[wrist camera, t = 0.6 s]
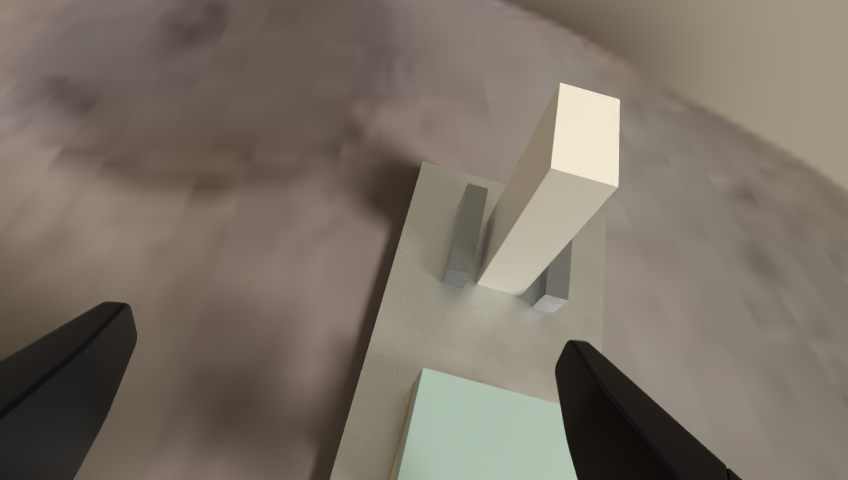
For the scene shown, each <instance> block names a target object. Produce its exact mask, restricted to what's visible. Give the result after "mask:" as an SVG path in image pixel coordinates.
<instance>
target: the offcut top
mask: <svg viewBox="0 0 848 480" xmlns="http://www.w3.org/2000/svg"><path fill="white" fill-rule="evenodd" d="M393 480H577V476H576V473H575V469H574V466H573V462H572V459H571V455H570V452H569V448H568V444H567V440H566V435H565V430H564V425H563V419H562V413H561V407H560V404H557V403H553V402H550V401H546V400H542V399H538V398H535V397H531V396H527V395H524V394H520V393H516V392H512V391H509V390H505V389H501V388H498V387H494V386H490V385H486V384H483V383H479V382H475V381H472V380H468V379H464V378H460V377H457V376H453V375H449V374H446V373H442V372H438V371H434V370H431V369H427V368H422V370H421V372H420V373H419V375H418V376H417V378H416V382H415V386H414V391H413V395H412V399H411V404H410V408H409V412H408V417H407V421H406V425H405V430H404V434H403V438H402V443H401V447H400V451H399V456H398V460H397V464H396V469H395V473H394V477H393Z"/></svg>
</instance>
